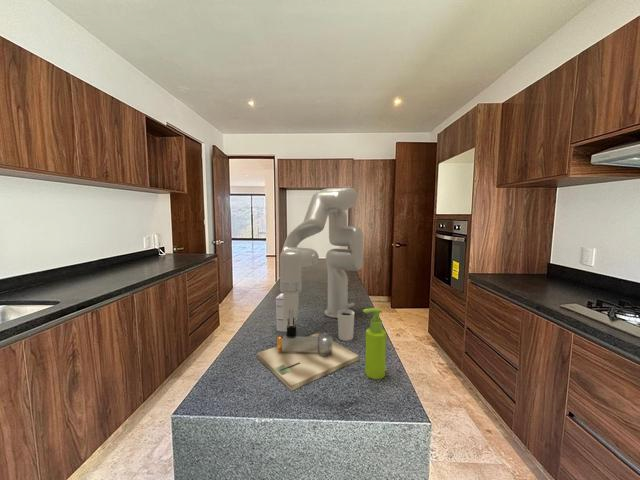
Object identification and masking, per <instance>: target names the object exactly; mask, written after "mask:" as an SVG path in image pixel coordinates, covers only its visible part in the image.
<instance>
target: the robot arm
mask: <svg viewBox="0 0 640 480" xmlns="http://www.w3.org/2000/svg"><path fill="white" fill-rule="evenodd" d="M357 199H358V196H357V192H356V190H355V188H353V187H348V186H347V187H328V188H323V189H321V190H319V191H318V192H315V193H314V194H313V195H312V197H311V200H310V203H309V205H308V207H307V211H306V213H305V215H304V219H303V221H302V222H301V223H300V224H298V225H297V226H296V227H295V228H294V229H292V231H291V232H290V233H289V234H288V235H287V237H286V239H285V241H284V243H283V246H282V249H281V252H280V254H279V291H280V293H282V294H283V321H284V322H285V321H287V332H286V336H297V324H296V322H297V321H298V314H299V293H300V292H302V291H303V278H302V277H303V276H302V275H303V274H302V273H303V272H302V271H303V270H310V269H311V270H312V269H313V268H315V267H316V266H317V265H318V264H319V260H320V259H319V258H320V257H319V253H318V251H316V250H315V249H313V248H308V247H307V248H306V247H298V245H299V244H300V243H301V242H302V241H304V240H305V239H307V238H310V237H312V236H314V235H315V236H316V234H317V235H318V234H320V232H322V231H324V229H325V225H326V223H327V220H328V240H329V244H330V245H332V246H335V247H347V248H330V249H329V250H328V251H327V252H326V255H325V262H326V268H327V269H326V270H327V307H326V309H325V310H324V315H325V316H327V317H329V318H331V319H332V318H333V319H338V313H337V312H338V311H339V310H344V309H347V310H350V308H354V307H355V303H354V302H351V303H350V302H348V298H349V297H348V292H349V291H348V290H349V289H348V288H349V287H348V286H349V285H348V283H349V281H348V280H349V278H348V275H347V273H346V272H345V270H347V271H359V270H361V269H362V267H363V261H364V235H363V231H362V229H361V228H360V227H359V226H357V225H356V226H355V225H348V216H347V215H348V214H347V212H346V211H347V210H349V209H351V208H353V207H354V206H355V204H356V203H357ZM349 248H350V249H349Z"/></svg>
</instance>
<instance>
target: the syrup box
mask: <svg viewBox="0 0 640 480" xmlns="http://www.w3.org/2000/svg"><path fill="white" fill-rule="evenodd" d="M275 308H276V309H275V315H276V316H275V317H276V331H277V332H282V333H283V332H284V333H287V321H285V322H284V321H283V293H280V294H278V295H277V296H276V297H275Z"/></svg>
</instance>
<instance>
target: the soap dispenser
mask: <svg viewBox="0 0 640 480" xmlns="http://www.w3.org/2000/svg"><path fill="white" fill-rule="evenodd" d="M362 312H363V313H364V314H368V313H372V314H373V315H372V318H371V319H370V322H369V324H370V325H369V328H366V329H365V361H364V364H365V368H364V371H365V372H364V373H365V375H366V376H367V377H368V378H369V379H370V378H371V379H374V380H381V379H383V378H384V377H386V358H387V355H386V353H387V352H386V347H387V332H386V330H385V329H383V320H382V319H381V318H380V313H383V310H382V309H381V308H379V307H370V308H365V309H364V308H363V309H362Z"/></svg>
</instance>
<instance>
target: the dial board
mask: <svg viewBox="0 0 640 480" xmlns="http://www.w3.org/2000/svg"><path fill="white" fill-rule="evenodd" d="M322 334H323V333H321V332H317V333H313V334H311V335H310V334H309V335H307V336H306V337H318V336H319V335H322ZM256 358H257V359H258V360H259V361H260V362H261V363H262V364H263V365H264V366H265V367H266V368H267V369H268V370H270V372H271V373H272V374H274V375H275V376H276V378H278V380H280V381H281V382H282V384H284V385H285V386H286V387H287V388H288V389H289V390H290V391H291V392H293V391H294V390H297V389H298V388H301V387H303V386H306V385H307V384H309V383H311V382H314V381H316V380H319V379H321V378H323V377H324V376H327V375H329V374H332V373H334V372H335V371H337V370H340V369H342V368H344V367H347V366H349V365H352V364H354V363H356V362H358V361H360V355H359V354H357V353H355V352H353V351H351V350H350V349H348V348H347V347H345V346H343V345H341V344H339V343H338V342H336V341H334V340H333V339H332V354H331V355H330V356H320V355H319V354H318V353H317V352H305V351H278V350H277V346H274V347H271V348H268V349H265V350H262V351H259V352H257V353H256Z"/></svg>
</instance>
